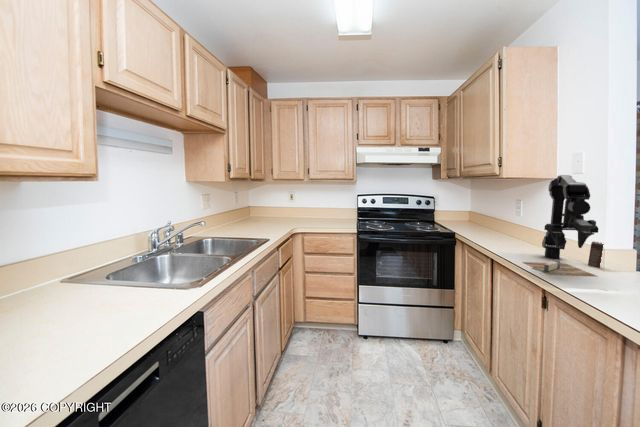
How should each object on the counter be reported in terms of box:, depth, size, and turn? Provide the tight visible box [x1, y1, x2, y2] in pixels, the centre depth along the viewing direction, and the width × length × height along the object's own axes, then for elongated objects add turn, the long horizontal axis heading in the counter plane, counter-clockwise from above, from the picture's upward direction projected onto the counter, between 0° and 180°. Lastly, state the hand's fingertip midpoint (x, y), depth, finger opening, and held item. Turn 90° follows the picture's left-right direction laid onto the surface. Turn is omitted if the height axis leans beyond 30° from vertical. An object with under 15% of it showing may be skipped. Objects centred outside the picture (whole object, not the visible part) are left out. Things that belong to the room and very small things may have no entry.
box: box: [587, 241, 605, 269], centre depth 145 cm, size 6×4×12 cm
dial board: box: [521, 261, 599, 278], centre depth 139 cm, size 20×21×1 cm
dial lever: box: [544, 259, 561, 271], centre depth 137 cm, size 13×3×3 cm, turn 124°
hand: (568, 247), depth 135 cm, fingers open, 9 cm apart
